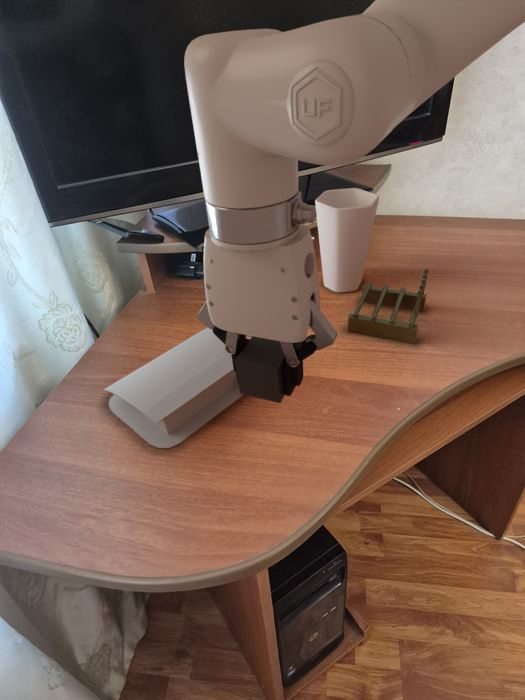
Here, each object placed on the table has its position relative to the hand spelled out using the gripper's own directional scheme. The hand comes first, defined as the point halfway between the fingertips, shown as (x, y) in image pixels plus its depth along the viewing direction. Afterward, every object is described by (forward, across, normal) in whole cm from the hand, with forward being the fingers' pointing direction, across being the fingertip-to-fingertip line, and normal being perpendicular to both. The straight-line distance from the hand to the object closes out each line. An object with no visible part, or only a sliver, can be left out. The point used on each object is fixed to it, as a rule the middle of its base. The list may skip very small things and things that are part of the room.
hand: (268, 380), depth 47 cm
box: (0, 0, 0) cm, 0 cm away
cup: (+13, +4, -44) cm, 46 cm away
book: (+12, +17, -8) cm, 22 cm away
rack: (+13, -7, -34) cm, 37 cm away
